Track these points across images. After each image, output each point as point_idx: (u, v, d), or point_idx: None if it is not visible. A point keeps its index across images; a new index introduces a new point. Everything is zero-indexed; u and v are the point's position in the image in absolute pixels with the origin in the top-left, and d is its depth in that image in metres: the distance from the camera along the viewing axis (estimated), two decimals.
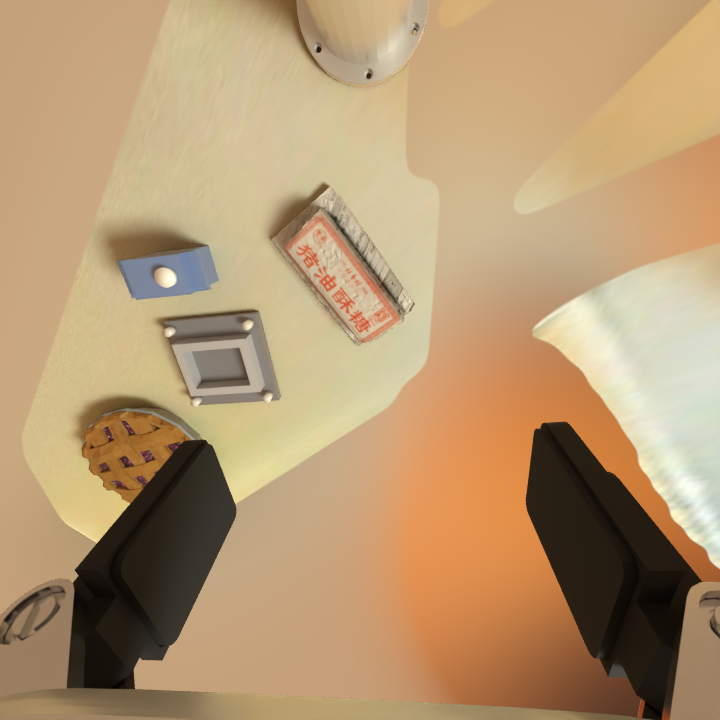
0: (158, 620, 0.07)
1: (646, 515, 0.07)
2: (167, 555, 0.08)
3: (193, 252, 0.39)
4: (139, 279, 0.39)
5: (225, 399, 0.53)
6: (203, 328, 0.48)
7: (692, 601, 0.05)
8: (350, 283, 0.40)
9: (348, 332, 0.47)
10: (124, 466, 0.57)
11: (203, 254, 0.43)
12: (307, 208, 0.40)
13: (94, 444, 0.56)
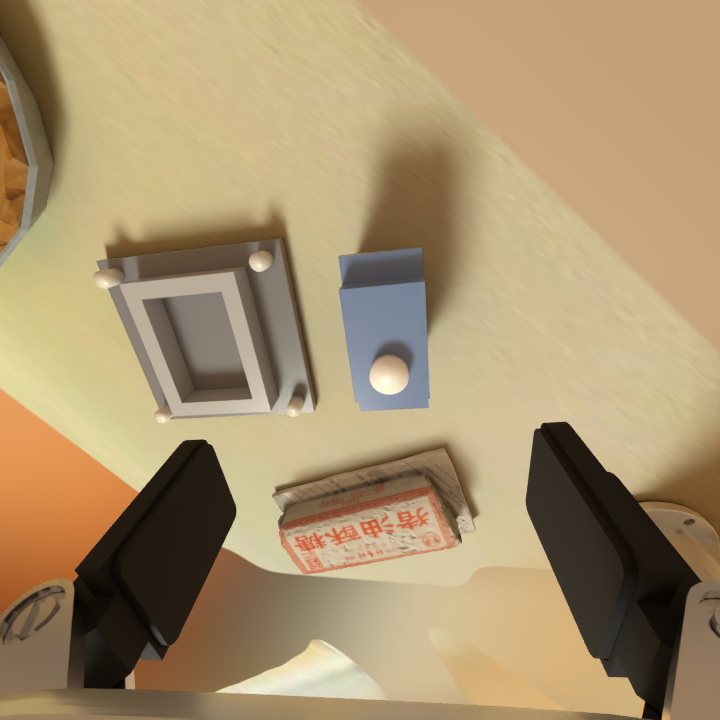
0: (158, 620, 0.07)
1: (646, 515, 0.07)
2: (167, 555, 0.08)
3: (426, 402, 0.22)
4: (384, 312, 0.18)
5: (134, 330, 0.27)
6: (276, 321, 0.26)
7: (692, 601, 0.05)
8: (363, 548, 0.31)
9: (294, 492, 0.34)
10: None
11: None
12: (463, 502, 0.32)
13: None
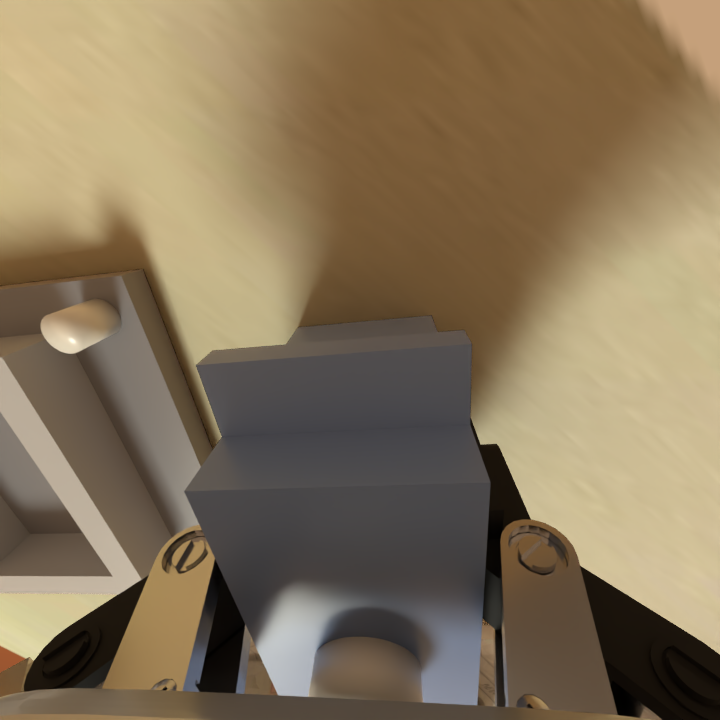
0: None
1: (510, 476, 0.08)
2: None
3: None
4: (343, 552, 0.05)
5: None
6: (149, 432, 0.13)
7: (504, 532, 0.06)
8: None
9: None
10: None
11: None
12: None
13: None
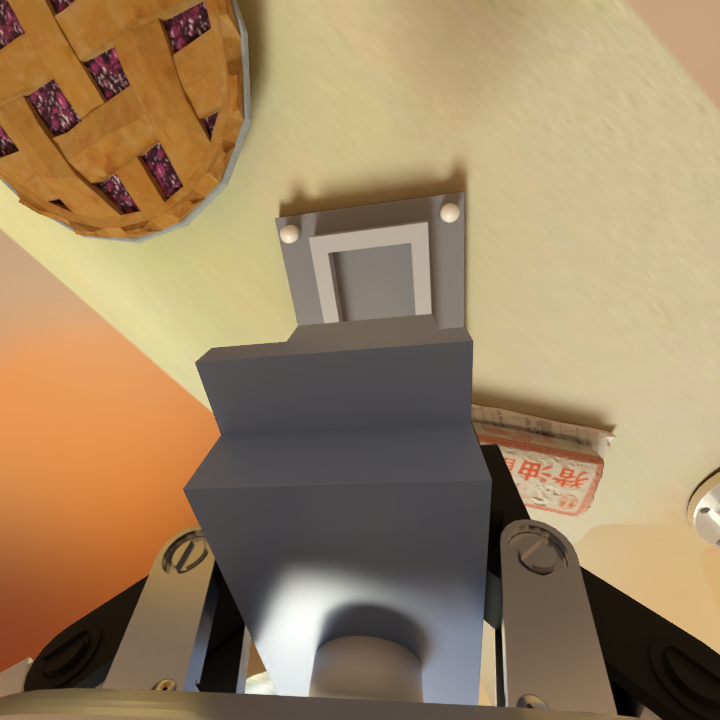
0: None
1: (510, 476, 0.08)
2: None
3: None
4: (344, 550, 0.05)
5: (299, 288, 0.28)
6: (445, 275, 0.27)
7: (504, 532, 0.06)
8: None
9: None
10: None
11: None
12: None
13: None
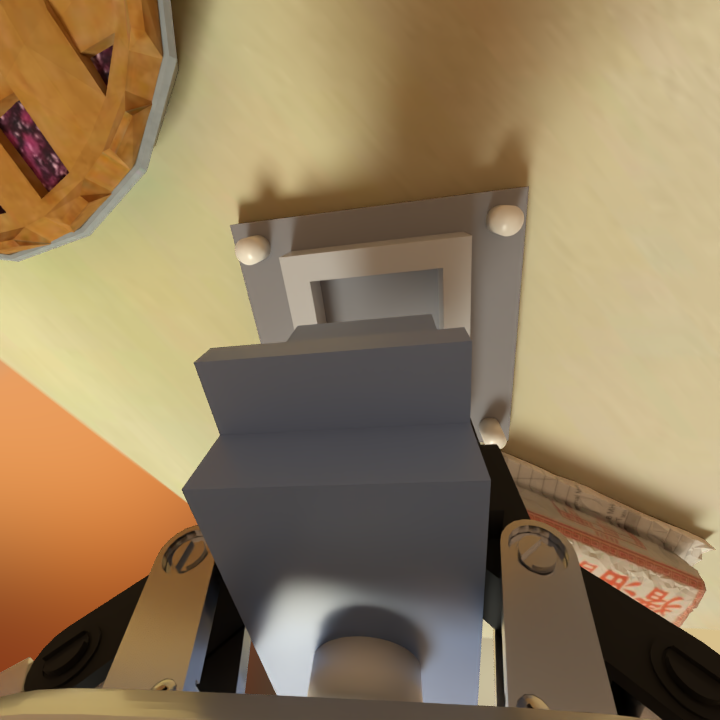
0: None
1: (510, 476, 0.08)
2: None
3: None
4: (342, 551, 0.05)
5: (270, 328, 0.19)
6: (488, 314, 0.18)
7: (504, 532, 0.06)
8: None
9: (522, 467, 0.22)
10: None
11: None
12: None
13: None
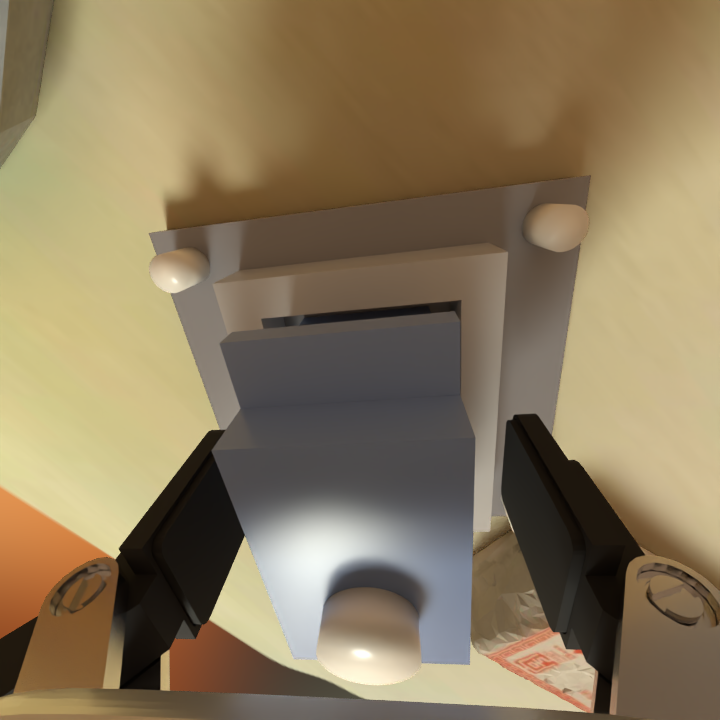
0: (193, 600, 0.08)
1: (603, 499, 0.07)
2: (200, 538, 0.08)
3: None
4: (349, 505, 0.06)
5: (217, 373, 0.14)
6: (521, 358, 0.12)
7: (630, 572, 0.05)
8: None
9: None
10: None
11: None
12: None
13: None
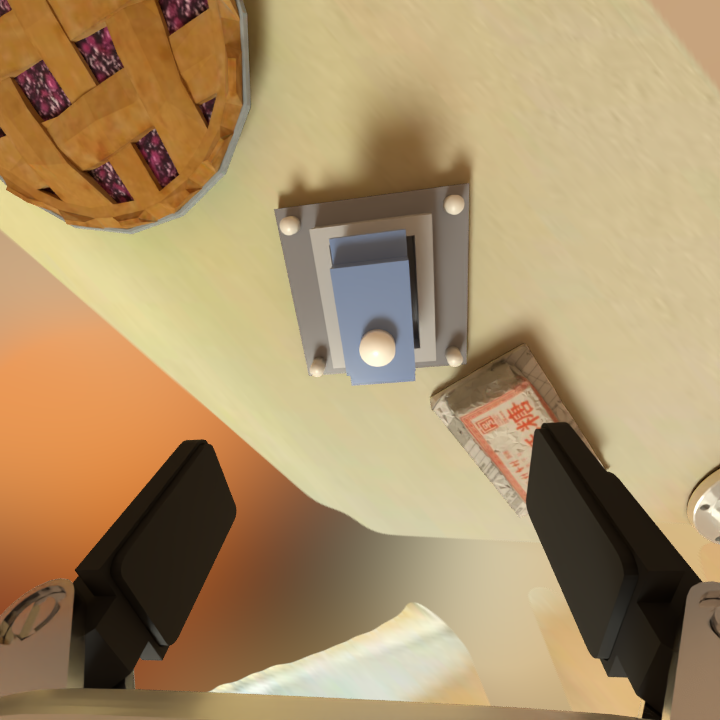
0: (158, 620, 0.07)
1: (646, 515, 0.07)
2: (167, 555, 0.08)
3: (413, 376, 0.24)
4: (371, 289, 0.20)
5: (298, 282, 0.27)
6: (448, 269, 0.26)
7: (692, 601, 0.05)
8: (525, 462, 0.30)
9: (537, 367, 0.29)
10: None
11: None
12: None
13: None
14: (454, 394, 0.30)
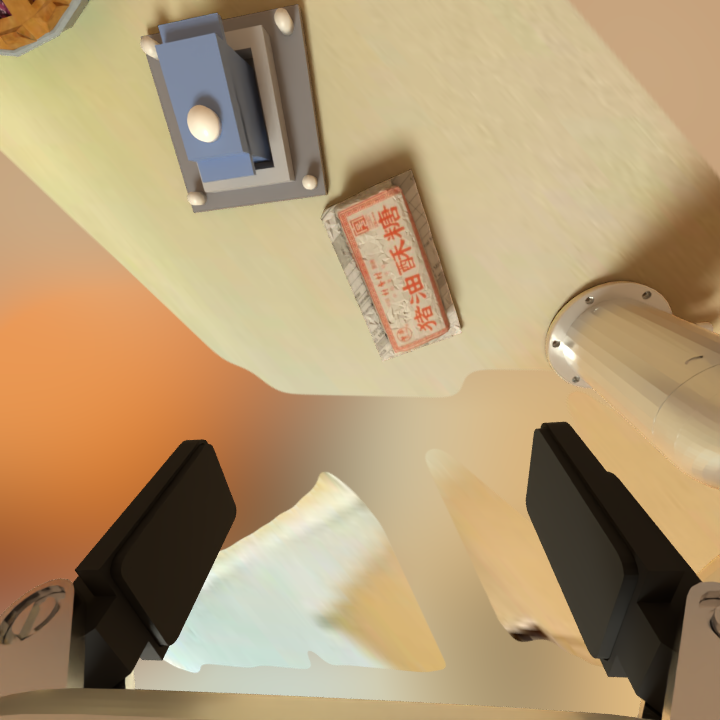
0: (158, 620, 0.07)
1: (646, 515, 0.07)
2: (167, 555, 0.08)
3: (251, 169, 0.28)
4: (191, 65, 0.24)
5: (171, 112, 0.31)
6: (294, 94, 0.30)
7: (692, 601, 0.05)
8: (387, 277, 0.33)
9: (417, 196, 0.33)
10: None
11: (257, 159, 0.31)
12: None
13: None
14: (341, 204, 0.33)
